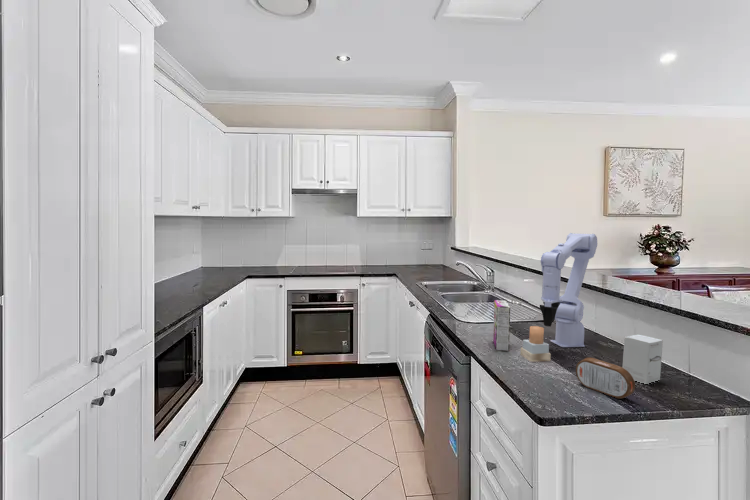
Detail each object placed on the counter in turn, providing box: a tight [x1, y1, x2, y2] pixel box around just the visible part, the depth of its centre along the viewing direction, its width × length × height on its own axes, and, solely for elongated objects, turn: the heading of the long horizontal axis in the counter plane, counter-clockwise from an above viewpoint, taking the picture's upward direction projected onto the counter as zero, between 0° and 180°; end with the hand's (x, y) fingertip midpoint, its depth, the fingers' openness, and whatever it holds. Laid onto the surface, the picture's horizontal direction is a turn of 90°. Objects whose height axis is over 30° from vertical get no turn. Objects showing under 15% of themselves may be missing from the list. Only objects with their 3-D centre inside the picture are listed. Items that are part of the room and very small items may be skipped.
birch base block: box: [519, 347, 552, 363], centre depth 138 cm, size 7×7×3 cm
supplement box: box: [621, 333, 664, 385], centre depth 120 cm, size 7×7×13 cm
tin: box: [575, 357, 636, 399], centre depth 110 cm, size 15×3×8 cm, turn 33°
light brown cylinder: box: [528, 325, 545, 344], centre depth 137 cm, size 4×4×5 cm
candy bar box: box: [492, 299, 511, 352], centre depth 149 cm, size 11×5×16 cm, turn 168°
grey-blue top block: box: [522, 339, 550, 354], centre depth 137 cm, size 6×6×3 cm
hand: (549, 323), depth 143 cm, fingers open, 7 cm apart
